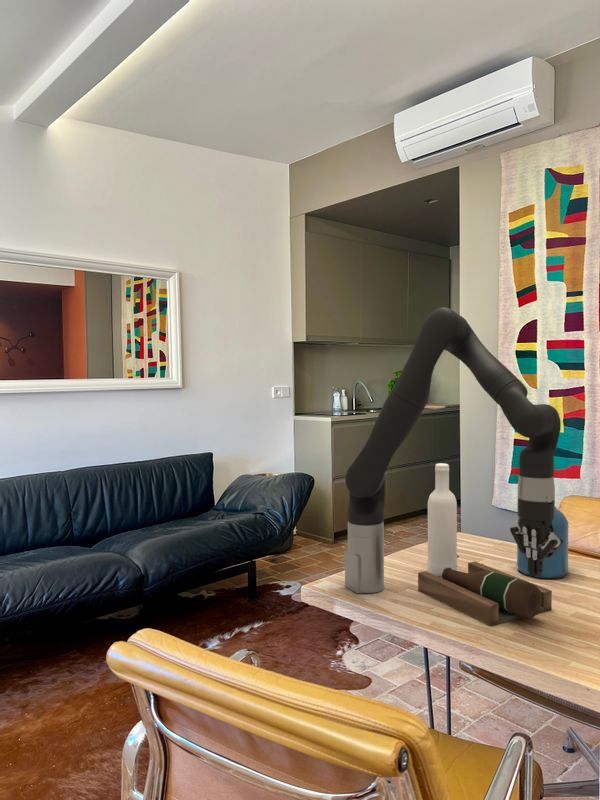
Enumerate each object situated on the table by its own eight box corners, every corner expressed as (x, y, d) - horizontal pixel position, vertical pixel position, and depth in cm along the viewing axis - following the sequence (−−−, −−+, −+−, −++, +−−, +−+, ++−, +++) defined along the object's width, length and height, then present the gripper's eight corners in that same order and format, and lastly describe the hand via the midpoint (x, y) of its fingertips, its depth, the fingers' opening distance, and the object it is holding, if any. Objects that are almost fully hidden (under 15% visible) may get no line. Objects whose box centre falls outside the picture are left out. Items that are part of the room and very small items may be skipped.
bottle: (460, 576, 165) (460, 466, 164) (430, 576, 165) (430, 466, 164) (453, 567, 173) (453, 461, 171) (425, 567, 173) (425, 462, 172)
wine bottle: (564, 583, 159) (564, 468, 158) (511, 575, 166) (511, 465, 165) (571, 568, 171) (572, 461, 169) (522, 561, 178) (522, 458, 176)
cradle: (490, 626, 133) (490, 605, 133) (418, 590, 155) (418, 572, 155) (551, 609, 142) (551, 590, 141) (475, 577, 164) (475, 561, 164)
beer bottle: (525, 583, 132) (438, 557, 151) (520, 620, 131) (432, 589, 150) (544, 585, 137) (457, 559, 156) (539, 620, 136) (452, 590, 155)
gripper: (500, 492, 137) (499, 569, 137) (548, 504, 125) (547, 587, 126) (524, 489, 140) (524, 564, 141) (573, 500, 128) (572, 581, 129)
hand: (535, 575), depth 133 cm, fingers closed
